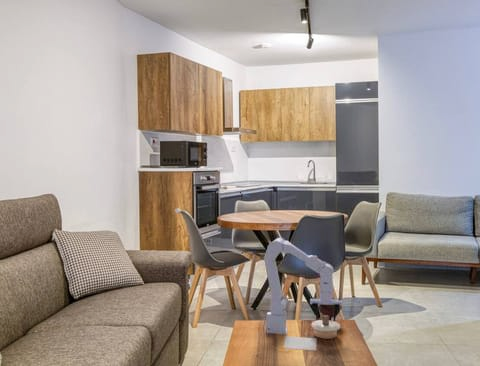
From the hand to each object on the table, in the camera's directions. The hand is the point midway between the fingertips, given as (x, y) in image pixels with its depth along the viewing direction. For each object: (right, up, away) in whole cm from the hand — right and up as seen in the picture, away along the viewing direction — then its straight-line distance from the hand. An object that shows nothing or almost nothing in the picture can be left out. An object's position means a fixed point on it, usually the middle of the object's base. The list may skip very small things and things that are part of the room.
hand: (325, 320), depth 228 cm
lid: (0, -3, 0) cm, 3 cm away
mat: (-13, -8, -9) cm, 17 cm away
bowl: (0, -8, 0) cm, 8 cm away
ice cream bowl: (+5, -7, +16) cm, 18 cm away
